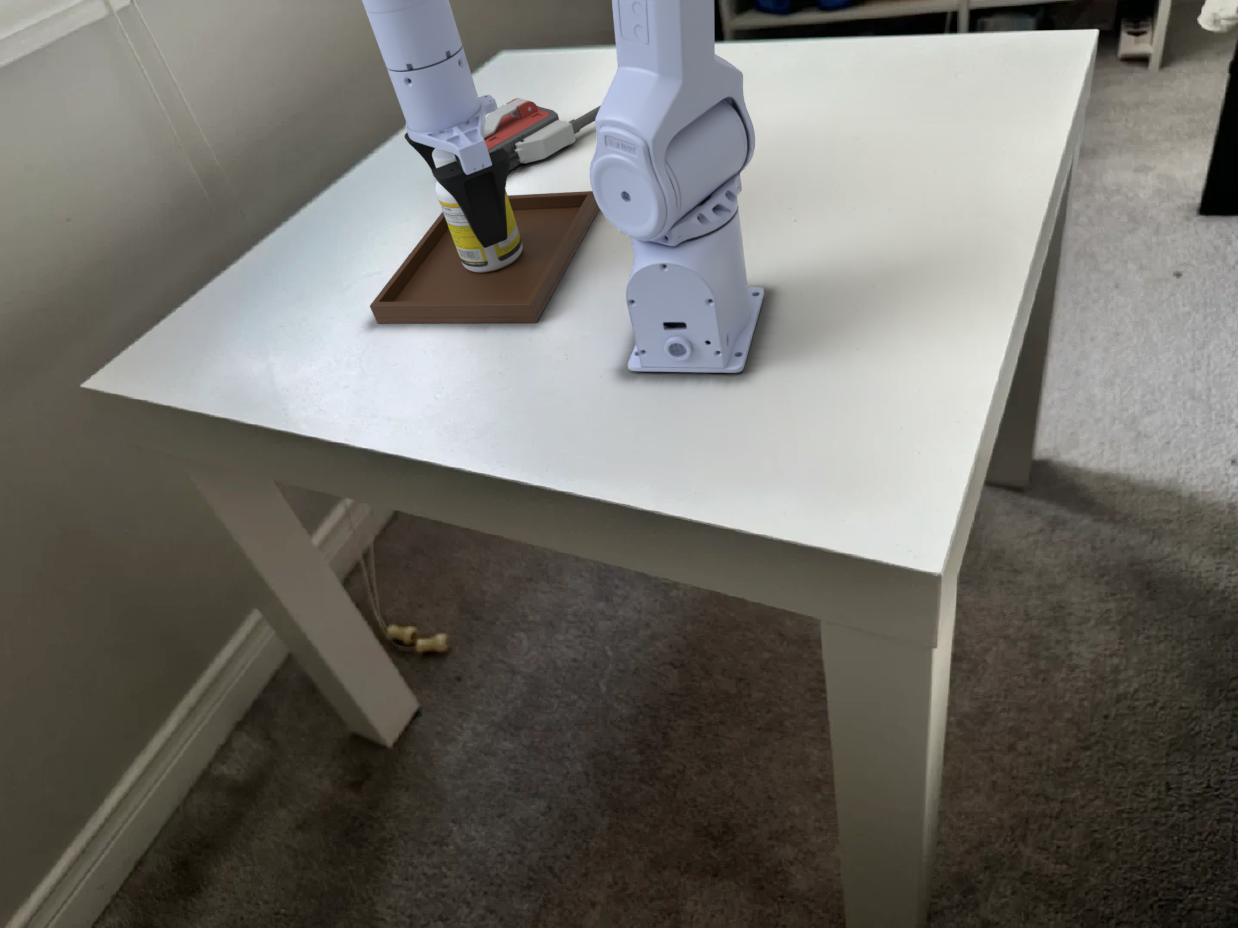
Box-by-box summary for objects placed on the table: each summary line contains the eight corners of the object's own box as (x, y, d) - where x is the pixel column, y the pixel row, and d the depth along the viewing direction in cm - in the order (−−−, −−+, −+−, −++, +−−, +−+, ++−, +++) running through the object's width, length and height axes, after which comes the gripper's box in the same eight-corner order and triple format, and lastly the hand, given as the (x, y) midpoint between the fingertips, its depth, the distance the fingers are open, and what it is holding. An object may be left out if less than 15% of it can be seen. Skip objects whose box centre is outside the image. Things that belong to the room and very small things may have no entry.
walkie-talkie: (484, 199, 86) (633, 112, 94) (470, 156, 83) (624, 69, 91) (434, 180, 91) (578, 99, 99) (419, 138, 88) (569, 58, 96)
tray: (536, 322, 69) (530, 304, 68) (377, 323, 73) (369, 305, 72) (599, 207, 80) (595, 190, 79) (458, 214, 85) (452, 197, 84)
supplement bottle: (521, 233, 78) (488, 124, 72) (527, 264, 74) (492, 151, 68) (461, 250, 78) (422, 142, 72) (463, 281, 74) (423, 170, 68)
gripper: (506, 61, 61) (555, 240, 70) (448, 16, 71) (498, 176, 80) (408, 97, 59) (471, 274, 68) (364, 45, 70) (424, 205, 79)
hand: (480, 223), depth 74 cm, fingers open, 7 cm apart
